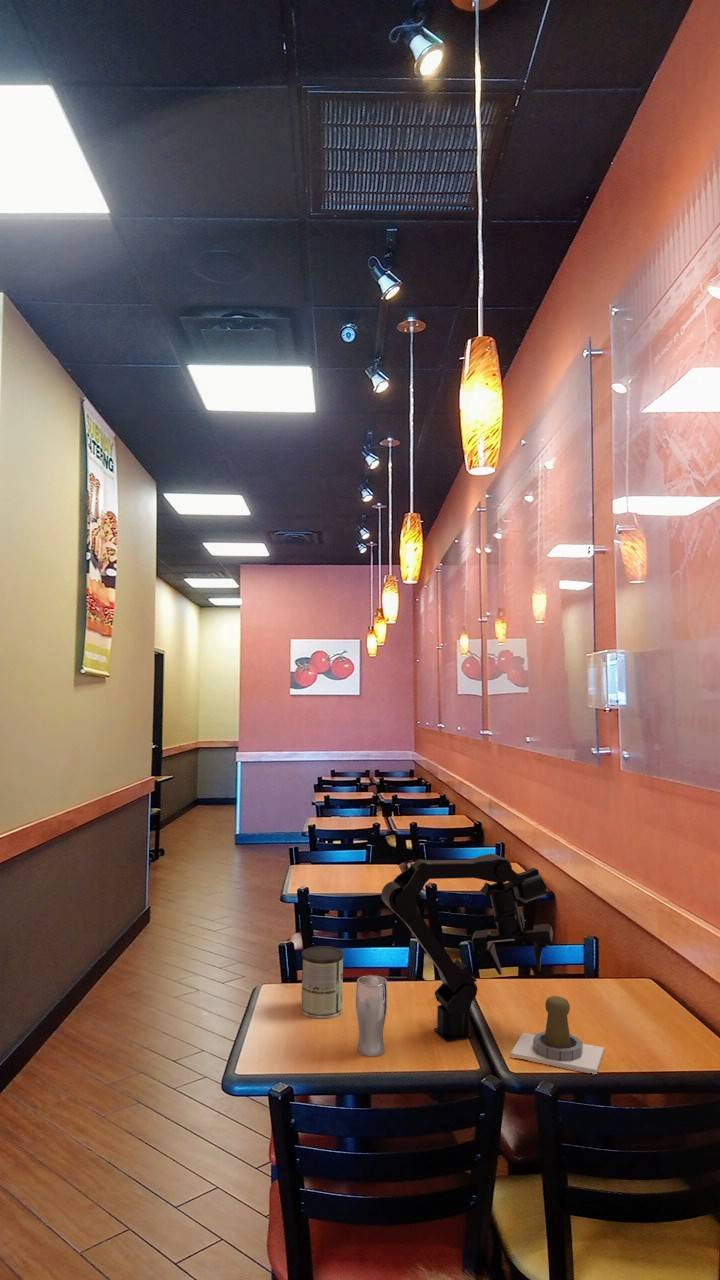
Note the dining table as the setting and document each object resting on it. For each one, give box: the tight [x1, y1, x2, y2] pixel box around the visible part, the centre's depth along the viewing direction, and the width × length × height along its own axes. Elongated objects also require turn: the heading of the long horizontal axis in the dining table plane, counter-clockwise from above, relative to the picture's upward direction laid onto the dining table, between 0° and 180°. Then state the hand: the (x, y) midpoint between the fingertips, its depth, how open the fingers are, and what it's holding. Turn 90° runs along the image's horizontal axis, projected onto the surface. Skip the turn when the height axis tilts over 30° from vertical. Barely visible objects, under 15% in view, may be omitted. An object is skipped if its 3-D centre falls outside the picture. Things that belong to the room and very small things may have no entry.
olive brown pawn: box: [544, 995, 571, 1049], centre depth 177 cm, size 6×6×11 cm
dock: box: [510, 1030, 605, 1075], centre depth 177 cm, size 18×12×3 cm, turn 66°
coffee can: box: [300, 945, 345, 1020], centre depth 200 cm, size 10×10×14 cm
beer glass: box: [355, 975, 389, 1058], centre depth 177 cm, size 7×7×15 cm
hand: (519, 972), depth 191 cm, fingers open, 9 cm apart
